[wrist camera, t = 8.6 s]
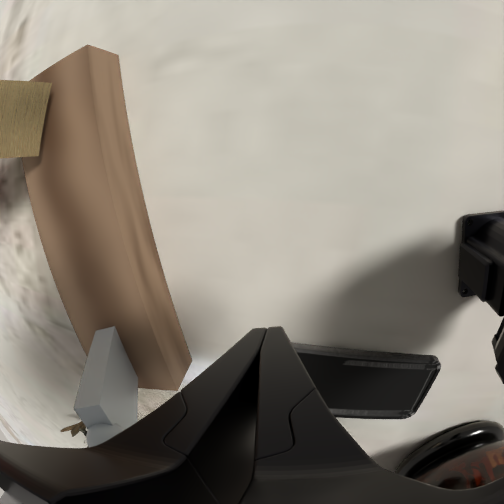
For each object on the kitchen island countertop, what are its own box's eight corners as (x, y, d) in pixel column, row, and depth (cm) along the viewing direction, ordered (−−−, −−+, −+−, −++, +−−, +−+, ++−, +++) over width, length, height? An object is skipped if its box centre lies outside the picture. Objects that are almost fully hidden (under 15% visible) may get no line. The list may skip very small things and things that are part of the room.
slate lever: (119, 324, 21) (104, 422, 12) (142, 377, 22) (145, 477, 13) (91, 331, 20) (63, 427, 11) (116, 382, 22) (108, 481, 13)
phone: (411, 418, 25) (264, 409, 26) (409, 411, 26) (265, 401, 27) (445, 359, 22) (277, 345, 23) (441, 352, 23) (278, 336, 24)
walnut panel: (118, 55, 18) (87, 44, 14) (192, 360, 26) (177, 390, 23) (46, 93, 20) (14, 91, 16) (120, 358, 28) (101, 383, 24)
